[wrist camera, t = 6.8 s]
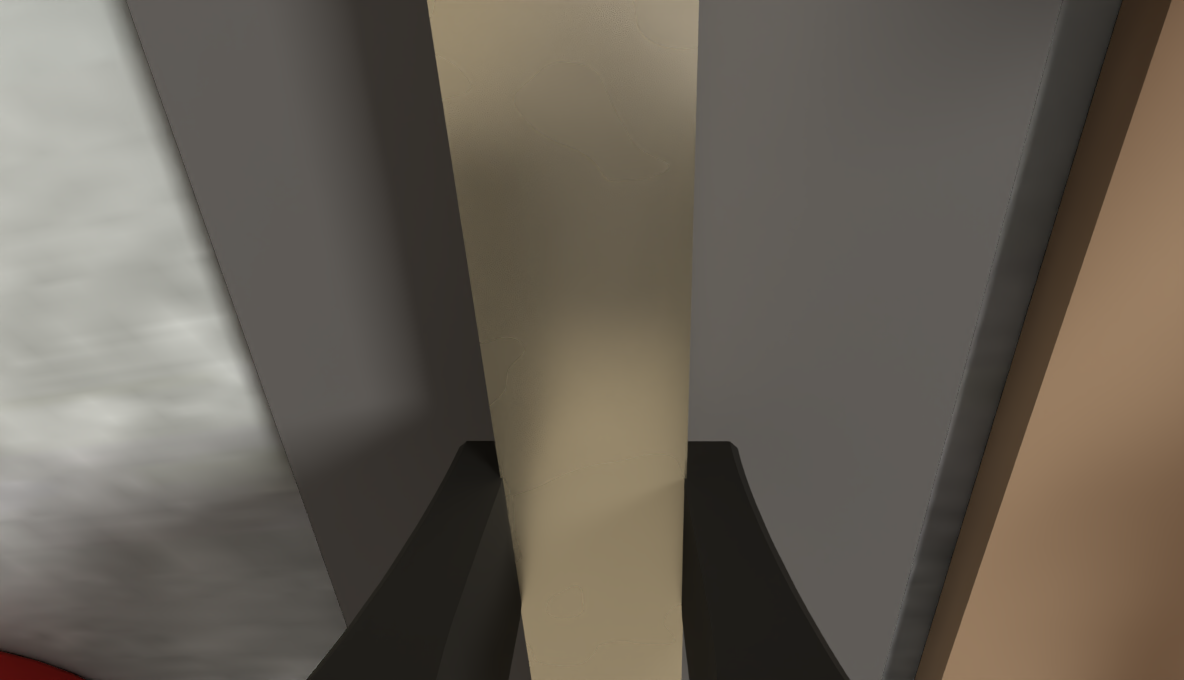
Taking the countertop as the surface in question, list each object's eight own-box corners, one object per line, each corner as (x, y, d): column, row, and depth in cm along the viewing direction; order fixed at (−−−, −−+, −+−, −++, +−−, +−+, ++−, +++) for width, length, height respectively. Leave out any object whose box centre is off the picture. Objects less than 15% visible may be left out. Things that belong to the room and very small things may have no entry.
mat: (1400, -1500, 5) (1499, -1638, 5) (832, 810, 23) (837, 845, 22) (-259, -1290, 6) (-365, -1391, 5) (426, 800, 23) (420, 833, 23)
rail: (709, -1071, 6) (733, -1352, 4) (672, 823, 21) (674, 931, 20) (351, -1033, 6) (228, -1292, 4) (576, 820, 21) (569, 928, 20)
